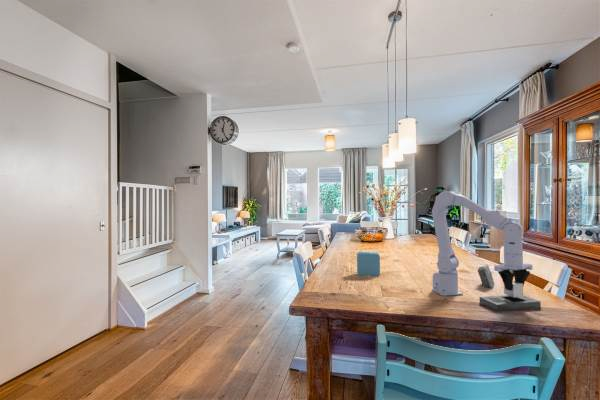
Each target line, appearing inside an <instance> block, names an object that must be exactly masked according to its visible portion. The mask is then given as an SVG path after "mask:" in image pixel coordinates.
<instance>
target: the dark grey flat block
mask: <svg viewBox="0 0 600 400" xmlns="http://www.w3.org/2000/svg"><path fill="white" fill-rule="evenodd" d="M479 304H480V305H481V306H484V307H486V308H488V309H490V310H493V311H495V312H509V311H522V310H537V309H541V308H542V306H541V300H537V299H535V298H532V297H529V296H527V295H524V294H523V297H511V296H509V295H506V294H504V295H492V296H491V295H490V296H480V297H479Z"/></svg>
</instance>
